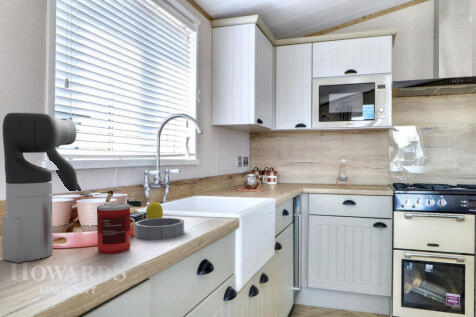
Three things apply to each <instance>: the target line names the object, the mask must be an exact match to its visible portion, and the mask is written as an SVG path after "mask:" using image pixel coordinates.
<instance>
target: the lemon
mask: <svg viewBox="0 0 476 317" xmlns="http://www.w3.org/2000/svg"><path fill="white" fill-rule="evenodd" d="M163 214H164V211H163V207H162V205H161V203H159V202H157V201H155V200H153V201H152V202H150V203H149V204H148V205H147V206H146V210H145V217H146V219H153V218H163V216H164V215H163Z"/></svg>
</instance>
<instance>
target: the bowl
mask: <svg viewBox="0 0 476 317" xmlns="http://www.w3.org/2000/svg"><path fill="white" fill-rule="evenodd" d="M133 225H134V226H133V227H134V229H133V231H134V234H133V236H134V237H136V238H137V239H143V240H167V239H173V238H177V237H180V236H181V237H182V236H183V235H184V233H185V220H184V219H181V218H177V217H162V218H153V219H147V218H145V219H142V220H138V221H136V222H134V223H133Z"/></svg>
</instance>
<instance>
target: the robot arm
mask: <svg viewBox="0 0 476 317" xmlns="http://www.w3.org/2000/svg"><path fill="white" fill-rule="evenodd" d="M2 121H3V122H2V141H3V142H2V143H3V144H2V145H3V154H4V158H3V159H4V172H5V216H3V217H1V238H2V239H1V241H2V242H1V245H2V246H1V248H2V250H1V252H2V257H1V258H2V260H5V261H8V262H12V263H16V264H17V263H23V262H31V261H37V260H41V259H40V258H42V259H45V258H47V256H48V257H50V256H52V255H53V254H52V253H54V242H53V241H54V240H53V238H54V236H53V182H52V181H53V179H52V178H53V176H52V175H53V173H52V171H51V169H49V168H46V167H42V166H39V165H36V164H34V163H32V162H30V161H28V160H27V159H26V158H25V157H24V153H25V154H38V153H39V154H41V153H45V154H46V156H47V159H48V158H49V159H48V161H49V160H50V161H52V162H53V163H54V164H55V165H56V166H57V168H58V169H59V170H56V173H57V174H58V176H59V178H60V179H61V181H62V182H63V184H64V186H65V187H66V188H67V189H68V190H69V191H76V190H78V191H81V190H82V188H81V186H80V184H79V182H78V177H77V172H76V169H75V167H74V166H73V165H72V164H71V163H70V162H69V161H68V160H67V159H66V158H65V157H64V156H63V155H62V154H61V153H60V152H59V151H58V150H57V148H59V147H61V146H68V145H69V146H70V145H72V144H74V143H75V142H76V139H77V128H76V126H75V122H74V121H73V120H72V119H70V118H64V117H63V118H58V117H55V116H53V115H51V114H47V113H41V112H38V113H37V112H36V113H35V112H9V113H7V114H6V115H5V116H4V118H3V120H2ZM50 161H49V162H50ZM73 167H74V168H73ZM95 194H108V193H107V192H83V193H82V194H80V195H95ZM126 199H127V204H129V205H130V208H141V207H142V204H143V203H142V200H138V199H136V198H126ZM51 254H52V255H51ZM44 257H45V258H44ZM36 259H37V260H36Z"/></svg>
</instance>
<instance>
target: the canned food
mask: <svg viewBox="0 0 476 317" xmlns="http://www.w3.org/2000/svg"><path fill="white" fill-rule="evenodd" d="M96 219H97V220H96V222H97V223H96V224H97V226H96V227H97V230H96V233H97V234H96V235H97V250H98V252H99V253H100V254H103V253H106V255H114V253H116V254H122V253H125V252H128V251H129V250H130V248H131V207H130V205H129V204H122V203H116V204H104V205H99V206H97V213H96ZM121 252H122V253H121Z"/></svg>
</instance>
